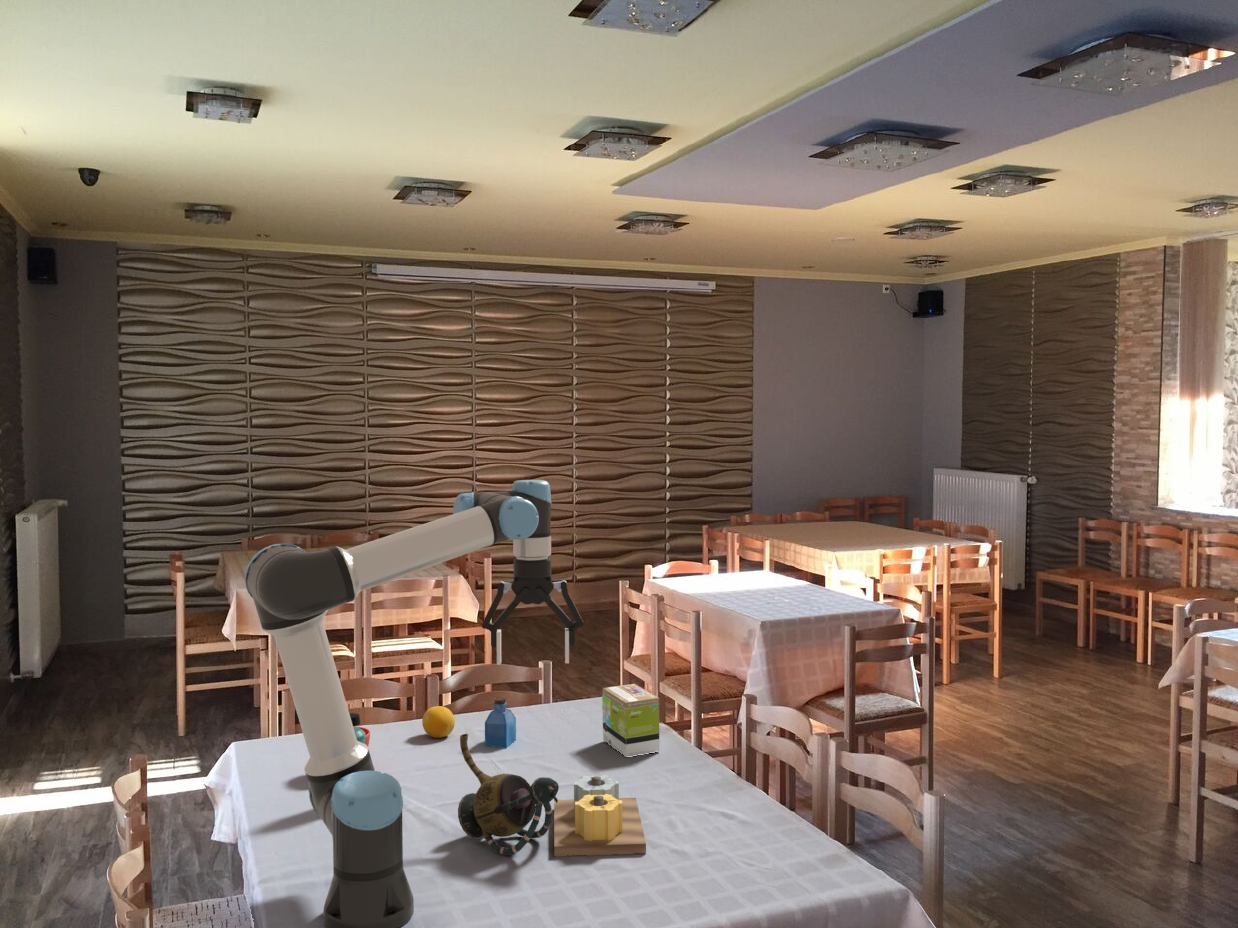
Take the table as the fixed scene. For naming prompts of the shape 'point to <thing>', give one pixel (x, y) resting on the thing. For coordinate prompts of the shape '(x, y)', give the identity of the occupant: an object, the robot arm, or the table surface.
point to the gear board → (576, 845)
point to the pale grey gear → (595, 787)
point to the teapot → (505, 806)
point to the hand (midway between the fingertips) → (533, 662)
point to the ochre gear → (598, 818)
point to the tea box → (630, 719)
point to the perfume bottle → (500, 725)
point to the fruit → (438, 721)
